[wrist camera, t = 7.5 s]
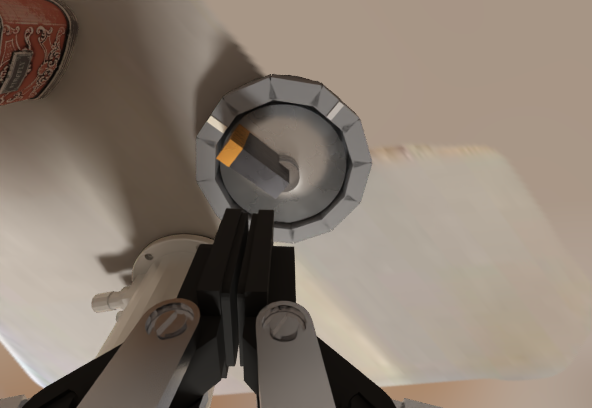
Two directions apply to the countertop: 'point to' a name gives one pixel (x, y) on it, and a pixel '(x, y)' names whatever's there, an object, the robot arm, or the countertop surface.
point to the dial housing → (292, 92)
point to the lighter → (34, 47)
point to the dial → (283, 161)
